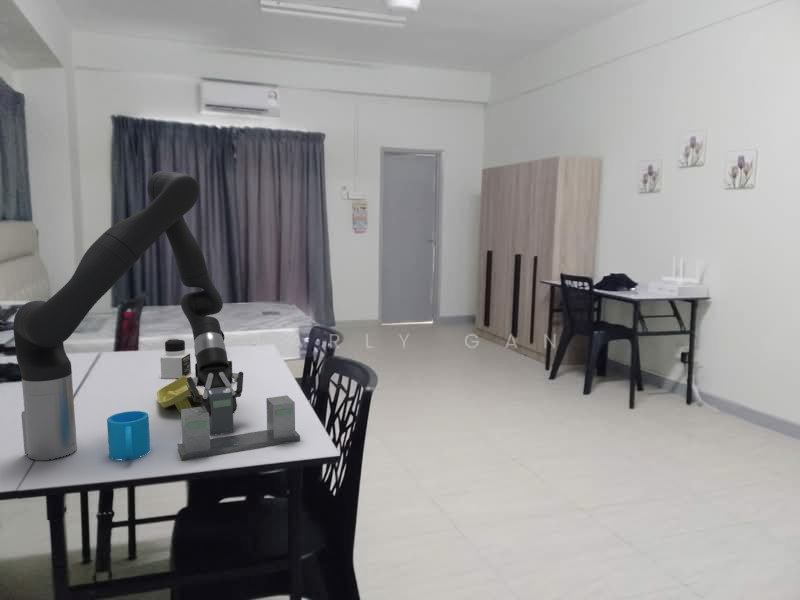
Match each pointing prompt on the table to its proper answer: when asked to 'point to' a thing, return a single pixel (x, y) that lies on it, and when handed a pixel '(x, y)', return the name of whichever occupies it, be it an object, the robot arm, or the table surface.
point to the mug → (128, 435)
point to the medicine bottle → (175, 360)
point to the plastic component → (175, 394)
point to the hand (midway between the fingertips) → (221, 413)
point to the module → (221, 410)
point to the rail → (201, 445)
